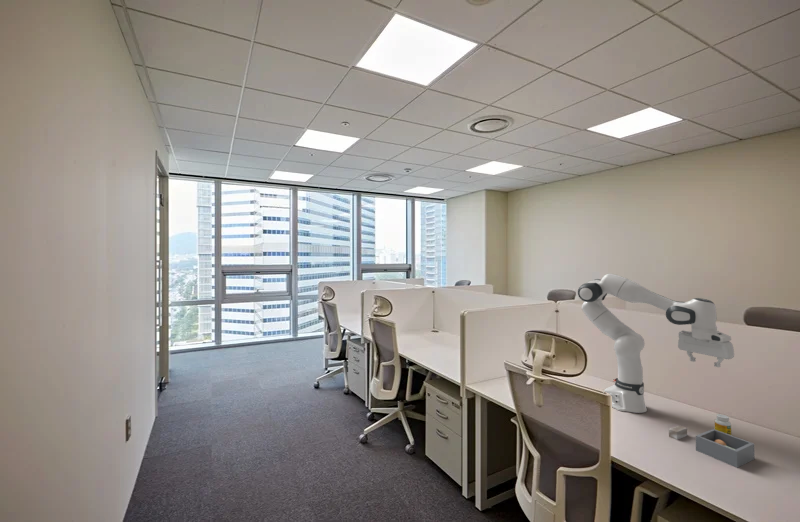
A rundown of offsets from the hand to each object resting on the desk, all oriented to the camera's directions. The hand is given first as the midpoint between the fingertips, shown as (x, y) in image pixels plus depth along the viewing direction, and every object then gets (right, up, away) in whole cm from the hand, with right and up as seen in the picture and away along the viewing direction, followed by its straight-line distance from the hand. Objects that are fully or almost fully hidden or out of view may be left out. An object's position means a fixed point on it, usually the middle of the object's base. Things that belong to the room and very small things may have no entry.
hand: (704, 363), depth 159 cm
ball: (-10, -30, -18) cm, 36 cm away
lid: (-18, -32, -7) cm, 37 cm away
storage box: (-11, -31, -21) cm, 39 cm away
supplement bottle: (+2, -31, -7) cm, 31 cm away
